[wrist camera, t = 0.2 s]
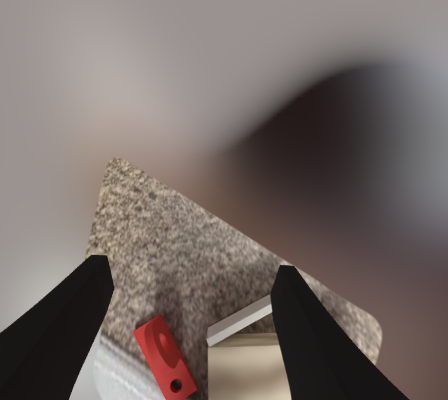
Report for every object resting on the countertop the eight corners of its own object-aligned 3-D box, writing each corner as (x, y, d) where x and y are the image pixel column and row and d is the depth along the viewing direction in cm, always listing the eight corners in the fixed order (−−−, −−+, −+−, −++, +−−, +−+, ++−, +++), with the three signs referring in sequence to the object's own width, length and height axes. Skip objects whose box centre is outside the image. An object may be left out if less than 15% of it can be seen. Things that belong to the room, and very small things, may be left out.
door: (281, 294, 39) (291, 300, 34) (210, 334, 37) (209, 346, 32) (278, 289, 39) (288, 294, 34) (207, 327, 37) (206, 339, 32)
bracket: (135, 329, 37) (114, 348, 30) (160, 313, 38) (146, 327, 30) (171, 404, 35) (159, 445, 27) (197, 385, 36) (193, 420, 28)
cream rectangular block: (296, 397, 36) (310, 422, 30) (209, 401, 35) (208, 427, 30) (291, 332, 38) (303, 344, 32) (209, 334, 37) (207, 347, 32)
